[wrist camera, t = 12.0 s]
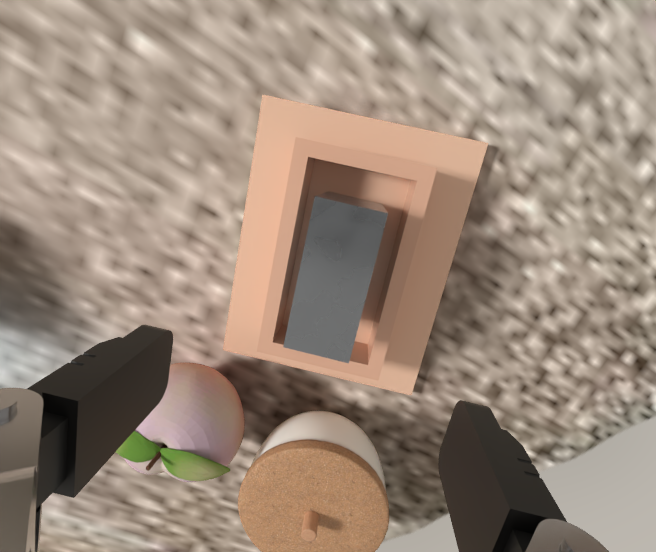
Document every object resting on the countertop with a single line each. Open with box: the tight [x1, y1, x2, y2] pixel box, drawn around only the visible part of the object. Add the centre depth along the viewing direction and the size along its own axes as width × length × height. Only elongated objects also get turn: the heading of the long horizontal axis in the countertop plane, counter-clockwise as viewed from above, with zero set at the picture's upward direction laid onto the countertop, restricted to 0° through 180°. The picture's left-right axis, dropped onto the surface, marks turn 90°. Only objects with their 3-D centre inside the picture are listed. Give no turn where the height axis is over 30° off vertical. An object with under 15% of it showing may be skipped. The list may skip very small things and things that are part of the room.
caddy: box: [223, 95, 488, 395], centre depth 28 cm, size 16×20×4 cm
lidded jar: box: [238, 411, 389, 552], centre depth 30 cm, size 11×11×9 cm
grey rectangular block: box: [283, 191, 388, 363], centre depth 26 cm, size 9×4×8 cm, turn 167°
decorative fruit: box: [116, 363, 245, 482], centre depth 29 cm, size 9×8×10 cm
